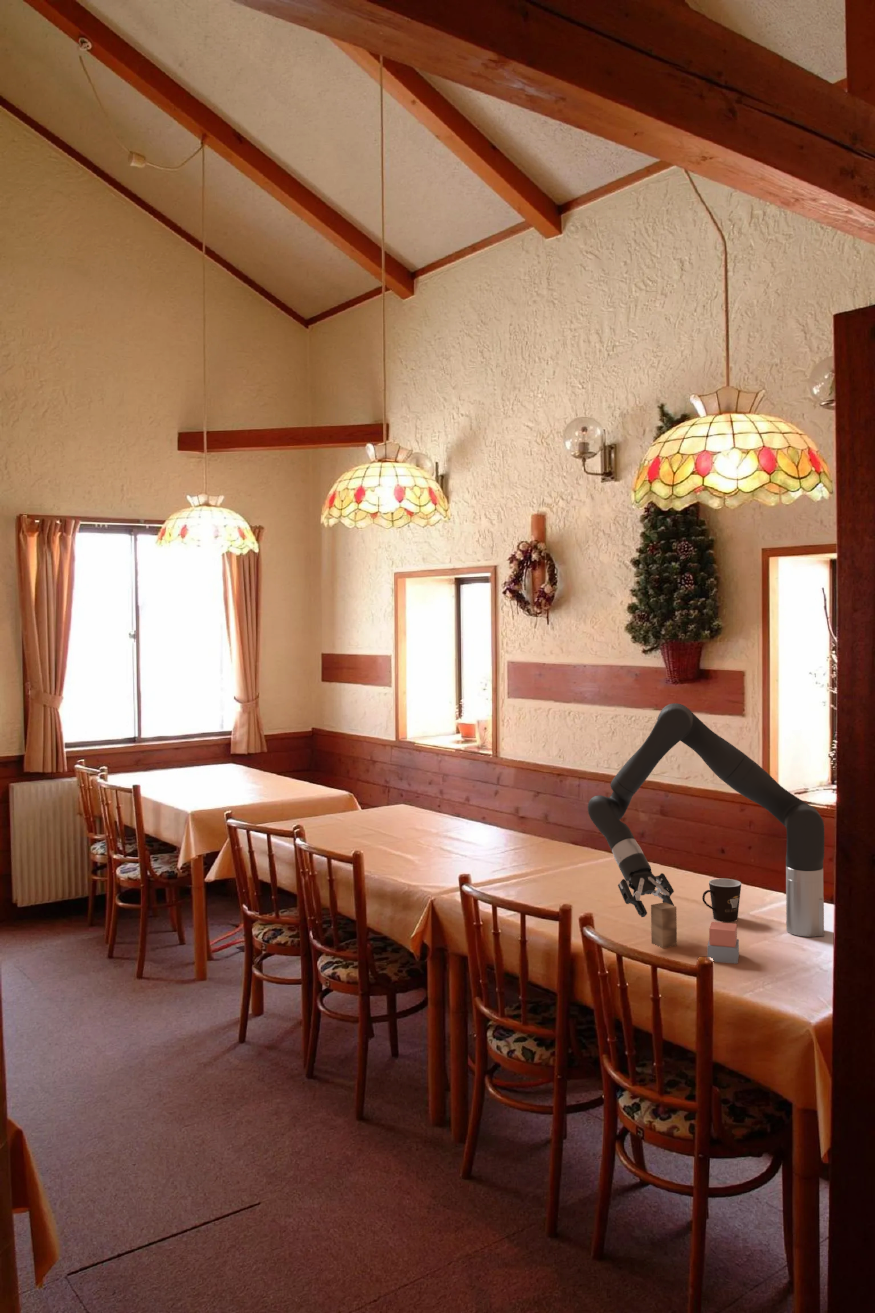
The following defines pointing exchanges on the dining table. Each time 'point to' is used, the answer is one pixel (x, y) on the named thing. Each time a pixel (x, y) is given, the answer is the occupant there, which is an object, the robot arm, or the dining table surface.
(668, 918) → the pillar brick
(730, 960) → the tower bottom brick
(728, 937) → the tower brick
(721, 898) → the coffee mug
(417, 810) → the dining table surface
